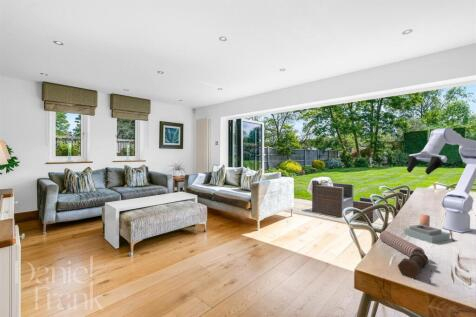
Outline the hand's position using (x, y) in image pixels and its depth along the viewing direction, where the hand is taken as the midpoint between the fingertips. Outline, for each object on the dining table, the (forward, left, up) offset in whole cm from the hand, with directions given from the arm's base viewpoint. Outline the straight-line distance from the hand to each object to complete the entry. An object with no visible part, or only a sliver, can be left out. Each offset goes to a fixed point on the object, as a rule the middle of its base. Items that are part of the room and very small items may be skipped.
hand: (417, 171), depth 102 cm
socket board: (-4, +2, -29) cm, 29 cm away
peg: (-13, -4, -29) cm, 32 cm away
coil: (+21, +7, -29) cm, 36 cm away
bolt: (+31, +19, -29) cm, 47 cm away
